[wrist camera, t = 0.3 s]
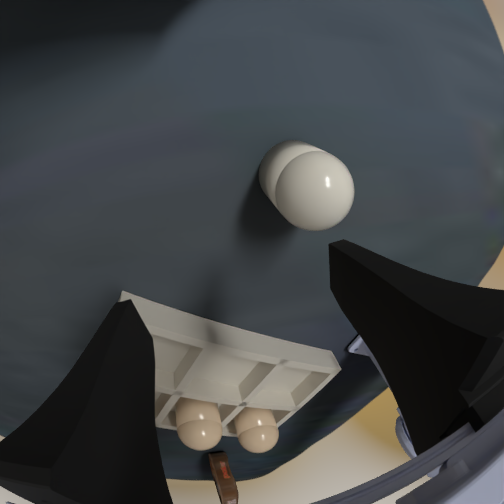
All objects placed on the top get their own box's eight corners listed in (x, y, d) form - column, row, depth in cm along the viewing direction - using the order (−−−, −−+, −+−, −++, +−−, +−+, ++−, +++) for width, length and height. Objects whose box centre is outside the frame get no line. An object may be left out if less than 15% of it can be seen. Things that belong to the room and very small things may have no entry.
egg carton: (331, 351, 29) (341, 369, 27) (259, 421, 34) (264, 437, 32) (122, 290, 20) (117, 313, 18) (90, 390, 25) (87, 410, 23)
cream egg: (333, 161, 19) (383, 189, 14) (299, 214, 20) (337, 257, 16) (282, 127, 17) (322, 142, 12) (245, 186, 19) (271, 224, 14)
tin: (206, 445, 35) (216, 496, 28) (228, 443, 36) (240, 493, 29) (211, 473, 43) (220, 512, 36) (228, 471, 43) (238, 509, 36)
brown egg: (276, 400, 31) (291, 442, 26) (256, 418, 32) (268, 458, 27) (243, 396, 29) (256, 442, 24) (225, 415, 30) (234, 458, 25)
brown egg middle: (223, 393, 28) (234, 441, 23) (206, 412, 29) (214, 457, 24) (183, 385, 26) (189, 437, 21) (168, 406, 27) (172, 454, 23)
